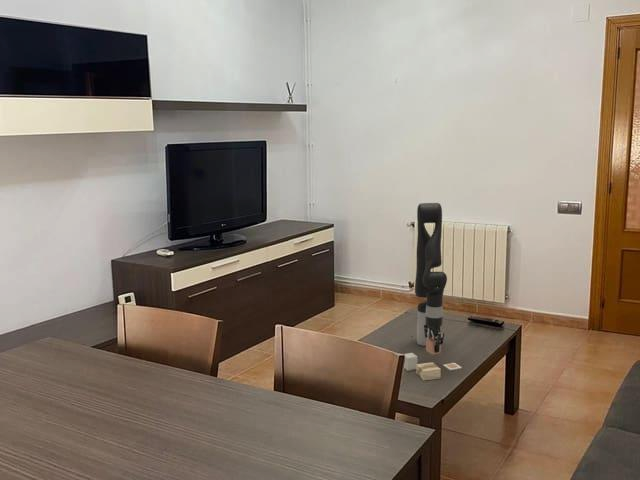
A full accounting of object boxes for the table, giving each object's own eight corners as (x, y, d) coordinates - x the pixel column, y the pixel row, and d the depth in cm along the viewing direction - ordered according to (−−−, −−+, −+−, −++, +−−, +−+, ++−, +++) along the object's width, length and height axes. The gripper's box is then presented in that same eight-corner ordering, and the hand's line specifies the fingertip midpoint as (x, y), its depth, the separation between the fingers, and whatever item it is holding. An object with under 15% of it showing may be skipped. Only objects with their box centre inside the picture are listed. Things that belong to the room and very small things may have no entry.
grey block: (402, 366, 283) (402, 354, 282) (411, 365, 285) (412, 352, 284) (407, 370, 279) (407, 358, 278) (417, 369, 281) (417, 356, 279)
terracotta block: (425, 350, 285) (426, 338, 283) (435, 348, 286) (435, 336, 285) (431, 354, 280) (431, 342, 279) (441, 352, 282) (441, 340, 280)
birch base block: (416, 373, 276) (416, 364, 275) (432, 371, 278) (433, 362, 277) (423, 380, 268) (423, 371, 267) (440, 378, 270) (440, 369, 269)
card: (443, 365, 284) (443, 364, 283) (454, 363, 286) (454, 362, 286) (450, 370, 278) (450, 369, 278) (461, 368, 280) (461, 366, 280)
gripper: (450, 318, 274) (449, 354, 278) (432, 308, 287) (432, 343, 291) (435, 320, 271) (434, 357, 275) (418, 311, 285) (418, 345, 288)
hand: (433, 349), depth 283 cm, fingers closed on terracotta block, 5 cm apart
